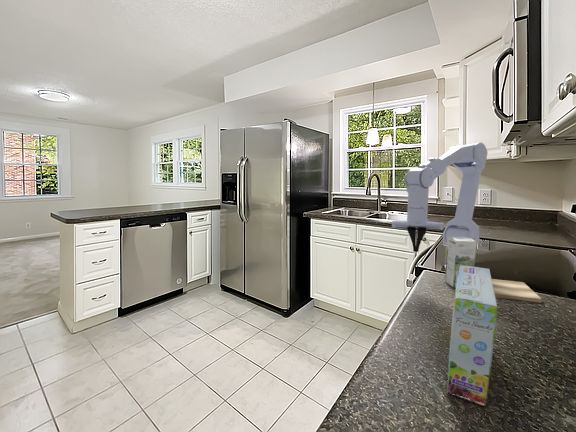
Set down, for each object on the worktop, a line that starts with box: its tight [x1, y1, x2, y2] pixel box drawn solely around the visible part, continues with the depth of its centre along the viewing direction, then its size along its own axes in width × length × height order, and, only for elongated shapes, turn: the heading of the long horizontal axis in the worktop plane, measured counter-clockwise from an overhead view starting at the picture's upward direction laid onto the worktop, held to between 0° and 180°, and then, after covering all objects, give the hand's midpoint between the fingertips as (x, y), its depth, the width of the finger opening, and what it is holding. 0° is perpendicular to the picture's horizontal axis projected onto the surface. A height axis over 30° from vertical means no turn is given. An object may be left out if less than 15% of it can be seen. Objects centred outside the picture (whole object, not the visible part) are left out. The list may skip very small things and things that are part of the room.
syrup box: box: [444, 237, 477, 289], centre depth 88 cm, size 6×6×14 cm
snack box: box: [446, 265, 498, 404], centre depth 50 cm, size 21×6×15 cm, turn 148°
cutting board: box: [491, 278, 543, 303], centre depth 85 cm, size 14×14×1 cm
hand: (415, 251), depth 91 cm, fingers closed
